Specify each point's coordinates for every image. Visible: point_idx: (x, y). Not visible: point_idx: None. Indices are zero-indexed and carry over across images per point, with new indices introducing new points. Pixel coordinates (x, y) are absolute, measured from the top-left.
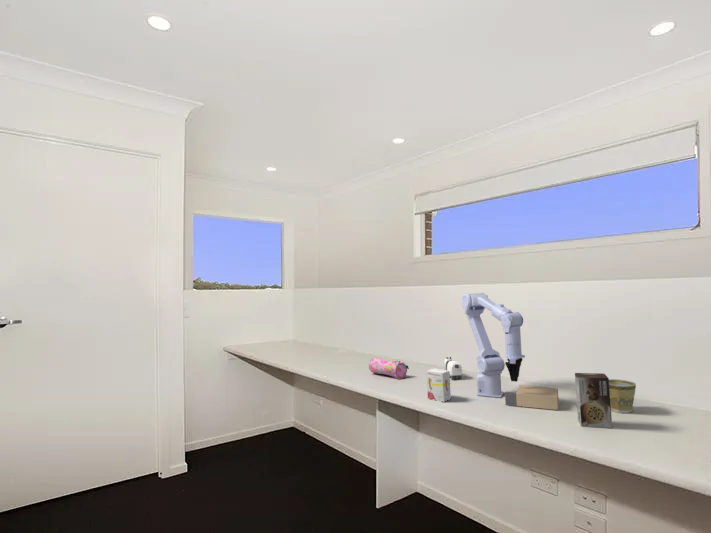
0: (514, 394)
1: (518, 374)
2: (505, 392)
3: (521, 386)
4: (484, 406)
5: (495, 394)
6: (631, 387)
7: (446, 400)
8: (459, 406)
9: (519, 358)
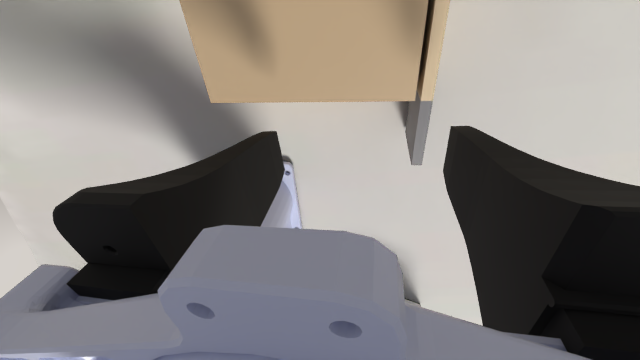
0: (429, 108)
1: (268, 140)
2: (421, 163)
3: (233, 88)
4: (444, 205)
5: (284, 187)
6: None
7: (409, 302)
8: (460, 271)
9: (572, 356)
